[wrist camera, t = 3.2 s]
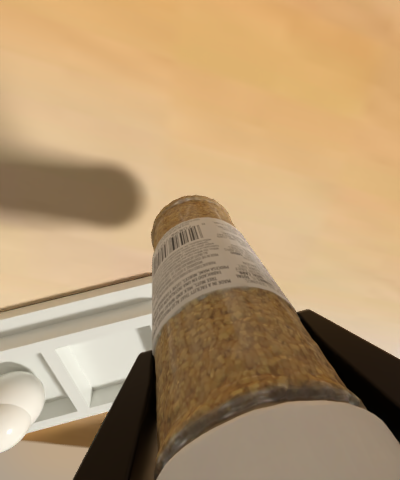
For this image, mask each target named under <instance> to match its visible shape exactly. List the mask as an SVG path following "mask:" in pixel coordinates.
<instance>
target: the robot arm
mask: <svg viewBox="0 0 400 480" xmlns="http://www.w3.org/2000/svg"><path fill="white" fill-rule="evenodd" d="M297 314H298V316H299V318H300V321H301V323H302V324H303V326H304V328H305V329H306V330H307V332H308V333H309V335H310V336H311V338H312V339H313V340H314V341H315V342H316V343H317V344H318V346H319V348H320V350H321V351H322V353H323V354H324V356H325V357H326V359H327V360H328V362H329V363H330V364H331V366H332V367H333V368H334V370H335V371H336V373H337V374H338V376H339V378H340V379H341V380H342V382H343V383H344V384H345V386H346V388H347V389H349V390H350V391H351V392H352V393H354V394H355V395H356V396H357V397H358V398H359V399H361V401H362V403H363V404H364V406H365V407H366V409H367V411H369V412H371V413H373V414H374V415H376V416H377V417H378V418H380V419H381V420H382V421H383V422H384V423H385V424H386V426H387V427H388V428H389V430H390V431H391V432H392V434H393V435H394V437H395V438H396V439H397V441H398V442H399V444H400V359H398V358H397V357H395V356H393V355H391V354H389V353H387V352H386V351H384V350H382V349H380V348H378V347H377V346H375V345H373V344H371V343H369V342H368V341H366V340H364V339H362V338H360V337H359V336H357V335H355V334H353V333H351V332H350V331H348V330H346V329H344V328H342V327H340V326H339V325H337V324H335V323H333V322H331V321H330V320H328V319H326V318H324V317H322V316H321V315H319V314H317V313H315V312H313V311H312V310H309V309H307V310H303V311H299V312H297ZM157 453H158V444H157V412H156V374H155V360H154V357H153V354H152V350H149V351H145V352H141V353H140V354H139V355H138V357H137V359H136V360H135V362H134V364H133V366H132V368H131V370H130V372H129V374H128V376H127V378H126V379H125V381H124V383H123V385H122V387H121V389H120V391H119V393H118V395H117V397H116V398H115V400H114V402H113V404H112V406H111V408H110V410H109V412H108V414H107V416H106V417H105V419H104V421H103V423H102V425H101V427H100V429H99V431H98V433H97V434H96V436H95V438H94V440H93V442H92V444H91V446H90V448H89V450H88V452H87V453H86V455H85V457H84V459H83V461H82V463H81V465H80V467H79V469H78V471H77V472H76V474H75V477H74V478H73V480H154V469H155V462H156V457H157Z"/></svg>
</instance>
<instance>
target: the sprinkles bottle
mask: <svg viewBox="0 0 400 480" xmlns="http://www.w3.org/2000/svg"><path fill="white" fill-rule="evenodd" d="M151 239H152V245H153V248H154V254H153V259H152V354H153V357H154V360H155V374H156V412H157V444H158V453H157V457H156V462H155V469H154V480H400V444H399V442H398V441H397V439H396V438H395V437H394V435H393V434H392V432H391V431H390V430H389V428H388V427H387V426H386V424H385V423H384V422H383V421H382V420H381V419H380V418H378V417H377V416H376V415H374V414H373V413H371V412H369V411H367V409H366V407H365V406H364V404H363V403H362V401H361V399H359V398H358V397H357V396H356V395H355V394H354V393H352V392H351V391H350V390H349V389H347V388H346V386H345V384H344V383H343V382H342V380H341V379H340V378H339V376H338V374H337V373H336V371H335V370H334V368H333V367H332V366H331V364H330V363H329V362H328V360H327V359H326V357H325V356H324V354H323V353H322V351H321V350H320V348H319V346H318V344H317V343H316V342H315V341H314V340H313V339H312V338H311V336H310V335H309V333H308V332H307V330H306V329H305V328H304V326H303V324H302V323H301V321H300V318H299V316H298V314H297V312H296V311H295V309H294V308H293V306H292V305H291V303H290V302H289V300H288V299H287V298H286V296H285V295H284V293H283V292H282V291H281V289H280V288H279V286H278V285H277V284H276V282H275V281H274V279H273V278H272V277H271V275H270V274H269V272H268V271H267V270H266V268H265V267H264V265H263V264H262V262H261V261H260V259H259V258H258V257H257V255H256V254H255V252H254V251H253V249H252V248H251V247H250V245H249V244H248V242H247V241H246V239H245V238H244V237H243V235H242V234H241V233H240V232H239V231H238V230H237V229H236V228H235V226H234V224H233V223H232V221H231V219H230V216H229V214H228V212H227V211H226V209H225V208H224V207H223V206H222V205H220V204H219V203H218V202H217V201H215V200H214V199H210V198H208V197H204V196H197V195H194V196H185V197H181V198H179V199H177V200H174V201H172V202H171V203H170V204H169V205H167V206H165V207H164V208H163V209H162V210H161V211H160V213H159V214H158V215H157V217H156V219H155V221H154V225H153V229H152V232H151Z"/></svg>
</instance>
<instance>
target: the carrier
mask: <svg viewBox="0 0 400 480" xmlns="http://www.w3.org/2000/svg"><path fill="white" fill-rule="evenodd" d="M149 350H152V276H148V277H144V278H140V279H136V280H132V281H128V282H124V283H120V284H115V285H111V286H107V287H103V288H99V289H95V290H91V291H87V292H83V293H79V294H75V295H71V296H66V297H62V298H58V299H54V300H50V301H46V302H42V303H38V304H34V305H30V306H26V307H22V308H17V309H13V310H9V311H5V312H1V313H0V376H2V375H4V374H6V373H10V372H14V371H25V372H29V373H32V374H34V375H35V376H37V377H38V378H39V379H40V381H41V382H42V384H43V386H44V389H45V402H44V406H43V409H42V411H41V413H40V415H39V417H38V418H37V419H36V421H35V422H34V423H33V424H32V425H31V426H30V427H29V430H28V431H27V433H30V432H34V431H37V430H41V429H45V428H48V427H52V426H56V425H60V424H63V423H67V422H71V421H75V420H78V419H82V418H86V417H89V416H93V415H97V414H101V413H104V412H108V411H109V410H110V408H111V406H112V404H113V402H114V400H115V398H116V397H117V395H118V393H119V391H120V389H121V387H122V385H123V383H124V381H125V379H126V378H127V376H128V374H129V372H130V370H131V368H132V366H133V364H134V362H135V360H136V359H137V357H138V355H139V354H140V353H141V352H145V351H149Z"/></svg>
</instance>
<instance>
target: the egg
mask: <svg viewBox="0 0 400 480" xmlns="http://www.w3.org/2000/svg"><path fill="white" fill-rule="evenodd" d="M44 402H45V389H44V386H43V384H42V382H41V381H40V379H39V378H38V377H37V376H35V375H34V374H32V373H29V372H25V371H14V372H10V373H6V374H4V375H2V376H0V453H2V452H5V451H7V450H9V449H11V448H12V447H14V446H15V445H16V444H18V443H19V442H20V441H21V440H22V438H23V437H24V436H25V435H26V433H27V431H28V430H29V427H30V426H31V425H32V424H33V423H34V422H35V421H36V419H37V418H38V417H39V415H40V413H41V411H42V409H43V406H44Z"/></svg>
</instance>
